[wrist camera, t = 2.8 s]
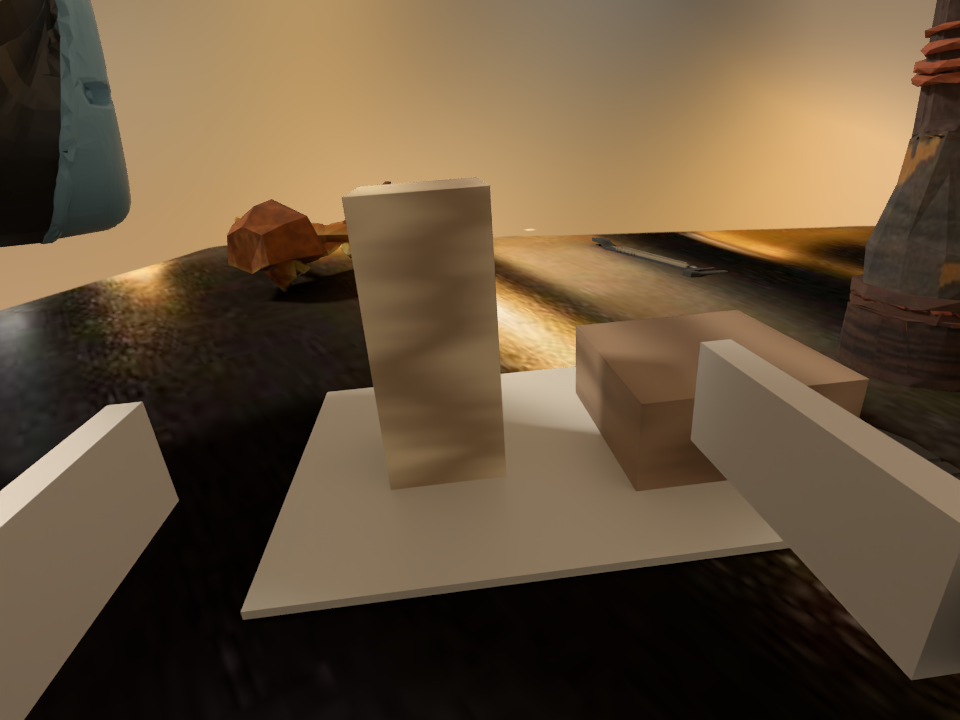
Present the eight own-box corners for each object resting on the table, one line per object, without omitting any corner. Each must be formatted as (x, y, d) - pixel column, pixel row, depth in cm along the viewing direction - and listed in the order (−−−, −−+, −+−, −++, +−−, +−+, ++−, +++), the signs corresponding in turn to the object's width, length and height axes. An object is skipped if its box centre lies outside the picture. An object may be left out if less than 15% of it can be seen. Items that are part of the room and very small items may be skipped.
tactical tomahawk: (744, 278, 53) (746, 268, 52) (691, 283, 51) (693, 272, 50) (627, 244, 71) (628, 235, 70) (585, 246, 69) (585, 237, 68)
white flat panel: (243, 619, 17) (240, 612, 16) (328, 397, 31) (327, 392, 31) (984, 522, 18) (988, 514, 18) (735, 354, 33) (735, 349, 33)
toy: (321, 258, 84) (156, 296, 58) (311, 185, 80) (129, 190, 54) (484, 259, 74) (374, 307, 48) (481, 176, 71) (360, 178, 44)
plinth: (636, 491, 21) (642, 404, 19) (575, 392, 29) (576, 325, 27) (846, 465, 21) (869, 379, 20) (728, 375, 29) (737, 309, 28)
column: (390, 490, 22) (341, 197, 17) (396, 430, 26) (359, 186, 22) (506, 476, 22) (489, 185, 17) (492, 419, 27) (476, 177, 22)
